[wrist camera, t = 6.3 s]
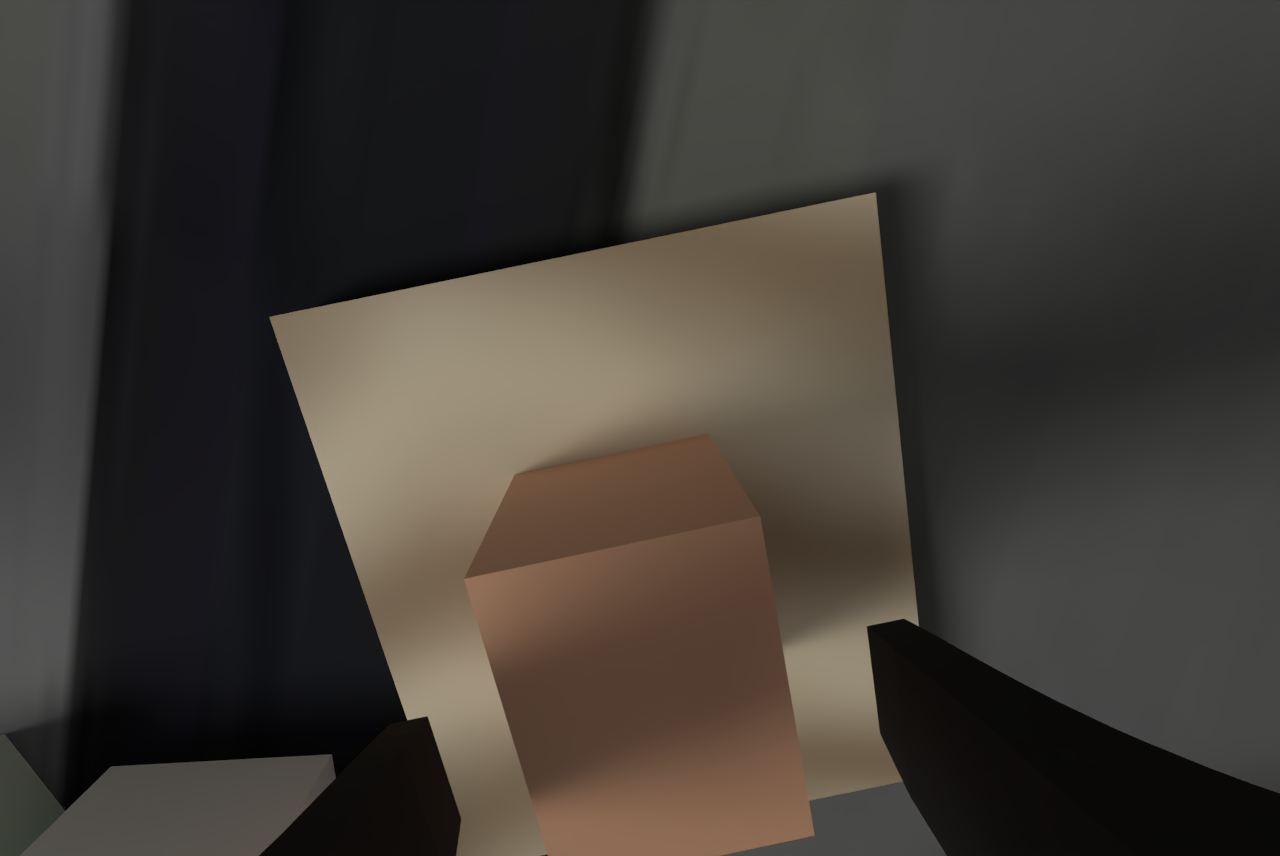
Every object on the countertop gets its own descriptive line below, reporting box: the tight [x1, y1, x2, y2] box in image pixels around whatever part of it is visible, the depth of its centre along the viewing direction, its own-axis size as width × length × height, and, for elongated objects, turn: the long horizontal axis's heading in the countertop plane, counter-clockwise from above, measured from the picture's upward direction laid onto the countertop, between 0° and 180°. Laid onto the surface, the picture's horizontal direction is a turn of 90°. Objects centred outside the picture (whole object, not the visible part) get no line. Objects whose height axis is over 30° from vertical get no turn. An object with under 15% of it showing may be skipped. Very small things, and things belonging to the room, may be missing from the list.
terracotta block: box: [464, 434, 815, 856], centre depth 12 cm, size 6×4×5 cm
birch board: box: [270, 192, 919, 856], centre depth 15 cm, size 15×13×2 cm
